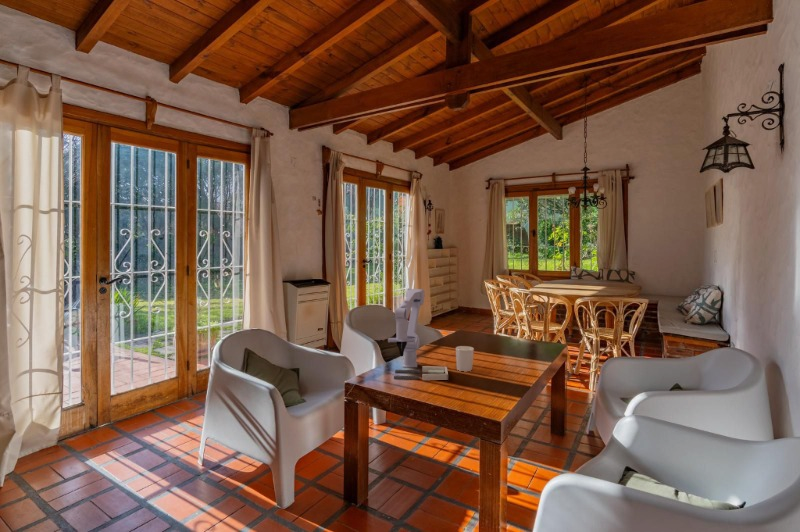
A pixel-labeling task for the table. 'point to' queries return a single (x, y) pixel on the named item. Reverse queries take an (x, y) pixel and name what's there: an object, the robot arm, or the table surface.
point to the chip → (439, 371)
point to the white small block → (431, 371)
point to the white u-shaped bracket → (434, 376)
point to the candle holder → (464, 358)
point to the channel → (406, 372)
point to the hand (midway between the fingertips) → (401, 355)
